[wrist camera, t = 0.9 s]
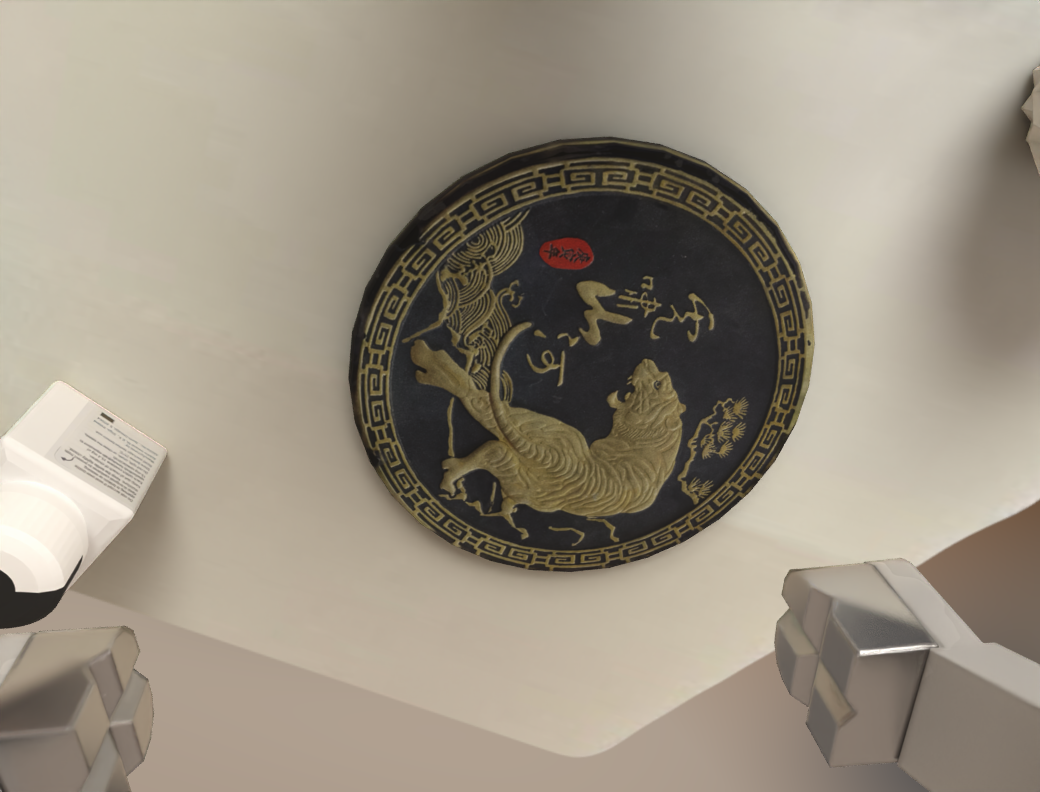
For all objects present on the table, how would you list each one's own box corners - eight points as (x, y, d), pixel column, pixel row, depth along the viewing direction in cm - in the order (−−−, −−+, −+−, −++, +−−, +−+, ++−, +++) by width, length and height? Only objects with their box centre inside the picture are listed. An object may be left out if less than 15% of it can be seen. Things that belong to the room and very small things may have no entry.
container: (102, 526, 54) (16, 671, 42) (-11, 460, 51) (-136, 597, 39) (171, 448, 52) (102, 577, 40) (59, 375, 49) (-51, 492, 37)
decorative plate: (399, 77, 42) (899, 209, 48) (400, 74, 44) (883, 202, 50) (312, 543, 54) (721, 600, 61) (315, 526, 56) (713, 584, 62)
